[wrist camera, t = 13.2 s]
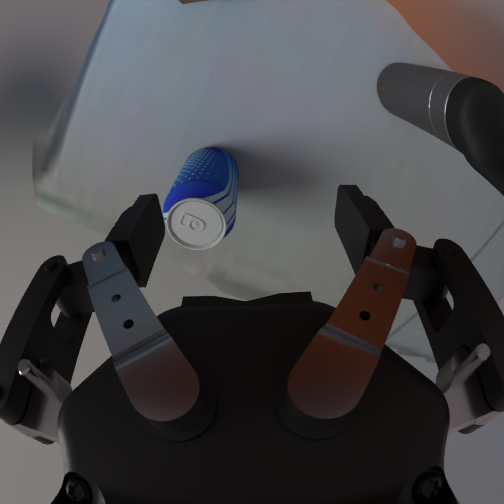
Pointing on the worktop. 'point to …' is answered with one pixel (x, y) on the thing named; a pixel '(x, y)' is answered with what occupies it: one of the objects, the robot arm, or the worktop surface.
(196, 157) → the beer can
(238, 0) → the worktop surface
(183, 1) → the wooden square frame
